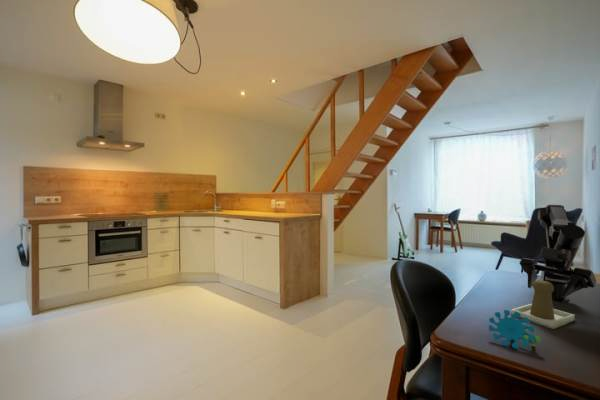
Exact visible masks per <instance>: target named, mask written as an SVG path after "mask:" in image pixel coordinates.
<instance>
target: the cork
mask: <svg viewBox="0 0 600 400" xmlns="http://www.w3.org/2000/svg"><path fill="white" fill-rule="evenodd" d="M532 288H533V290H534V291H533V292H534V294H533V297H532V303H531V304H532V306H531V311H530V314H531V315H533V316H535V317H538V318H542V319H548V320H552V319H555V318H554V310H553V309H554V305H553V299H552V295H551V293H552V292H553V291H554V286H553V284H552V283H550V282H547V281H542V279H539V280H538V279H536V281H534V282H533V286H532Z"/></svg>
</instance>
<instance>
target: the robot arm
mask: <svg viewBox="0 0 600 400" xmlns="http://www.w3.org/2000/svg"><path fill="white" fill-rule="evenodd" d="M537 221H539V223H540V224H539V225H540V226H541V227H542V228H543V229H544V230H545V237H546V245H547V247H541V252H540V255H539V257H540V258H542V262H543V264H538V262H537V260H536V259H532V258H526V257H523V258H521V259H520V261H519V263H518V264H519V265H520V266H521V268H522V270H523V272H524V273H526V275H527V287H528V289H531V288H533V282H534V281H536V280H538V277H539V273H540V272H541V273H540V278H541V279H540V280H542V281H547V282H550V283H552V284H553V286H554V291H553V292H552V293H551V295H552V301H553V300H554V301H558V302H561V303H563V302H566V301H569V300H571V299H570V297H568V296H570V295H572V294H574V293H575V292H578V291H580V290H582V289H588V288H595V286H596V285H597V279H596V276H595V274H594V271H592V270H591V269H587V268H582V267H574V268H572V267H573V266H574V260H575V257H577V256H576V255H577V254H578V251H579V249H580V247H581V245H582V242H583V240H584V237H585V235H586V231H585V230H584V228H582V227H580V226H579V225H577V224H576V222H573V221H571V220H569V219H568V217H567V210H566V209H565V206H564V205H562V204H547V205H546V206H544V207H542V208H540V209H539V211H538V212H537Z"/></svg>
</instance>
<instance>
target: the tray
mask: <svg viewBox="0 0 600 400" xmlns="http://www.w3.org/2000/svg"><path fill="white" fill-rule="evenodd" d="M531 306H532V303H529V304H525V305H521V306H519V307H518V306H517V307H515V308H512V309H511V310H510V316H511V317H512V316H513V315H514V313H515V312H516V311H517V312H518V313H520V314H521V317H519V319H520V320H521V319H524V318H525V317H527V318H528V319H529V321H530V323H532V324H533V323H534V324H537V325H539V326H542V327H545V328H548V329H552V330H556V329H557V328H560V327H562V326H564V325H567V324H569V323H571V322H574V321H575V318H576V317H575V316H576V314H574V313H570V312H567V311H566V312H565V311H564V310H559V309H556V308H553V310H554V318H555V319H552V320H548V319H542V318H538V317H535V316H533V315H531V314H530V311H531Z"/></svg>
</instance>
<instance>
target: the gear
mask: <svg viewBox="0 0 600 400" xmlns="http://www.w3.org/2000/svg"><path fill="white" fill-rule="evenodd" d="M503 313H504V317H503V318H502V317H501V315H502V314H501V313H500V312H499V311H497V312H494V316H495V317H496V318H497V319H498V322H496V321H495V318H494V317H490V318H489V319H488V321H489V323H491V324H493V325H495V326H496V328H495V327H494V326H493V325H491V324H490V325H488V330H489V332H494V333H492V337H493V339H494V340H495V341H497V340H499V339H501V338H503V339H502V340H501V341H500V344H501V345H502V346H504V347H507V346H508V343H509V342H510V341H514V342H512V344H511V346H512V348H513V349H515V350H519V348H520V347H519V344H518V342H519V340H522V342H521V343H522V346H523V347H524V348H527V347H530V345H531V347H534V348H535V346H536V344H537V343H541V342H542V339H541V336H540V335H534V334H531V333H535V331H536V330H535V326H534V325H529V324H530V323H531V322H530V321H529V319H528V318H527V317H525V318H524V319H521V318H519V317H521V314H520V313H518V312H517V311H516V312H515V313H514V315H513V316H512V315H511V310H507V309H504V310H503ZM508 316H510V317H508ZM517 318H519V319H517ZM523 323H524V324H523ZM526 324H527V325H526ZM526 330H528V331H530V332H531V333H529V332H527V331H526ZM495 332H496V333H495ZM497 332H498V333H499V334H497ZM504 338H505V339H504Z"/></svg>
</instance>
